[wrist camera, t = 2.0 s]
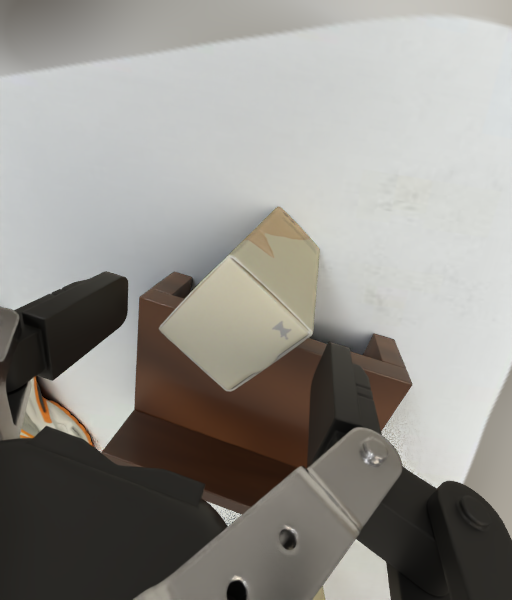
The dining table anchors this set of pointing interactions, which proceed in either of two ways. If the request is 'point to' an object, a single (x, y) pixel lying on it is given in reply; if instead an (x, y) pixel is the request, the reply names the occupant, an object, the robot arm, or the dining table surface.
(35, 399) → the running shoe
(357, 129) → the dining table surface
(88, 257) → the dining table surface
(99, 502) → the robot arm
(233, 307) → the box
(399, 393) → the shelf
